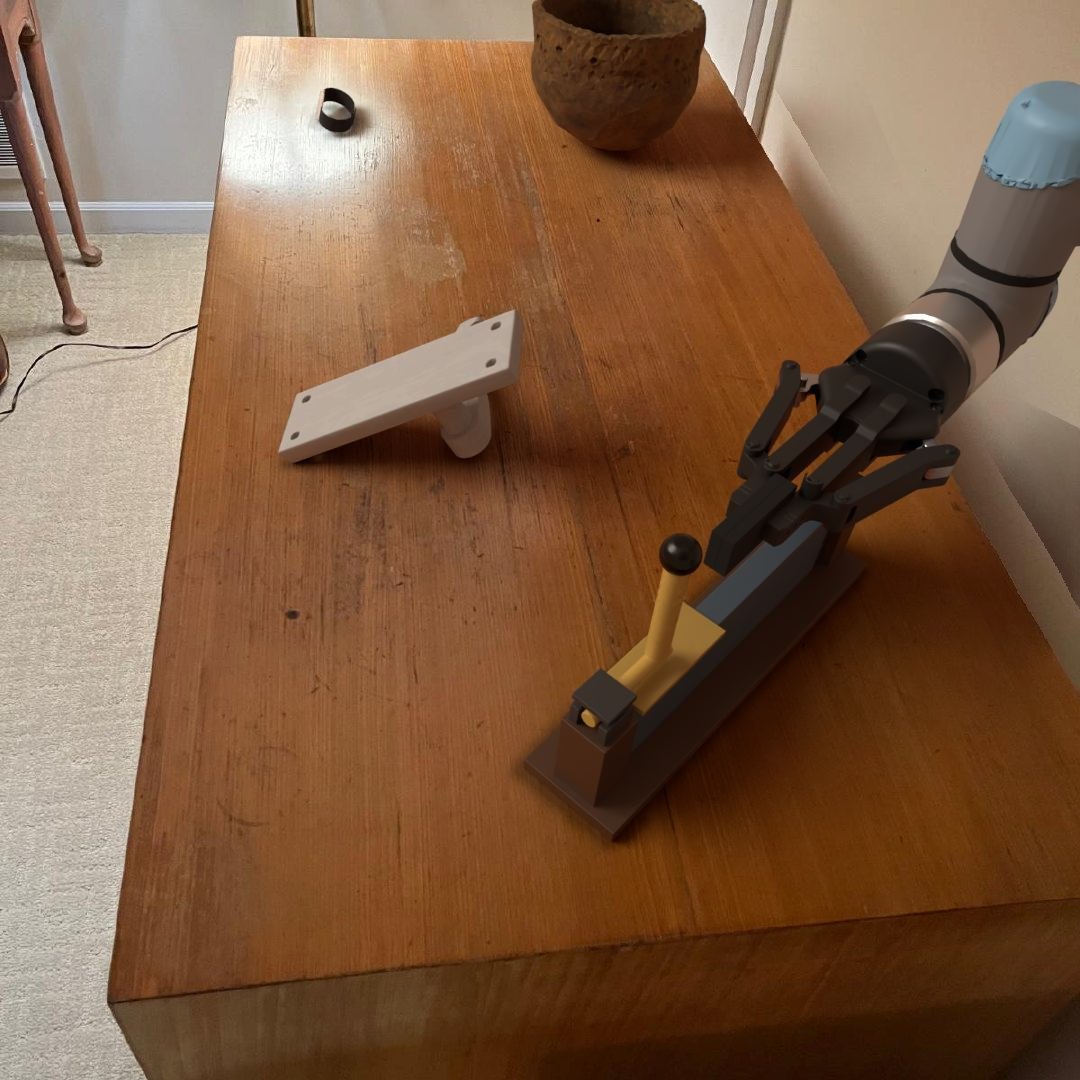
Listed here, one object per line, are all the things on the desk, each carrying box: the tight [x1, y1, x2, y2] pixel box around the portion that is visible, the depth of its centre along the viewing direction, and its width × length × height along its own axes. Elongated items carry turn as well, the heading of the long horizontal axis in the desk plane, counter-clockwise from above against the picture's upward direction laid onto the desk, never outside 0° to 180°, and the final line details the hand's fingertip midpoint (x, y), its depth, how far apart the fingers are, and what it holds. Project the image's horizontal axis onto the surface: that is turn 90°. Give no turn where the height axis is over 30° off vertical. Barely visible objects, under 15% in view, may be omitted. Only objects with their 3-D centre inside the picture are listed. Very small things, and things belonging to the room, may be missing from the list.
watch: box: [314, 87, 357, 134], centre depth 116 cm, size 8×5×4 cm, turn 6°
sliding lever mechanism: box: [523, 472, 868, 843], centre depth 65 cm, size 29×7×9 cm, turn 138°
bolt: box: [581, 532, 704, 727], centre depth 53 cm, size 7×2×10 cm, turn 138°
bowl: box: [530, 0, 707, 152], centre depth 113 cm, size 19×19×15 cm
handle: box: [277, 308, 524, 464], centre depth 82 cm, size 18×8×20 cm
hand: (718, 554), depth 56 cm, fingers closed
